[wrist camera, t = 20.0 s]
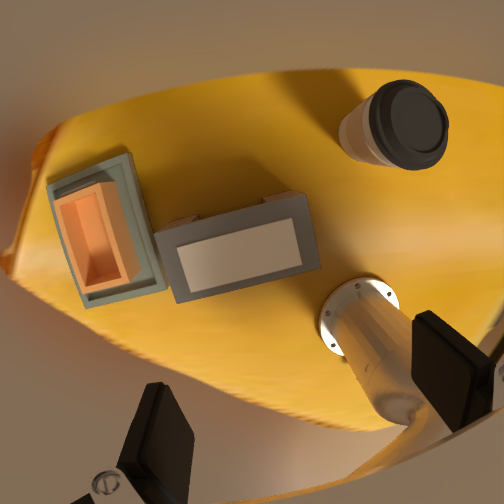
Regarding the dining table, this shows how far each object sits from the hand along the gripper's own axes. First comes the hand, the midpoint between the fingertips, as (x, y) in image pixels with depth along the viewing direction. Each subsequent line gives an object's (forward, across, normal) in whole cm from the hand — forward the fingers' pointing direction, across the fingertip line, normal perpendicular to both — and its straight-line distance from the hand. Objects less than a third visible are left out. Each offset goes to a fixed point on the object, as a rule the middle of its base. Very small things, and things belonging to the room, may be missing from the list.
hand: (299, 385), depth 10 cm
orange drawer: (+29, +19, -5) cm, 35 cm away
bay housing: (+30, +2, 0) cm, 30 cm away
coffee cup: (+31, -17, -9) cm, 36 cm away
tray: (+30, +19, -5) cm, 36 cm away
